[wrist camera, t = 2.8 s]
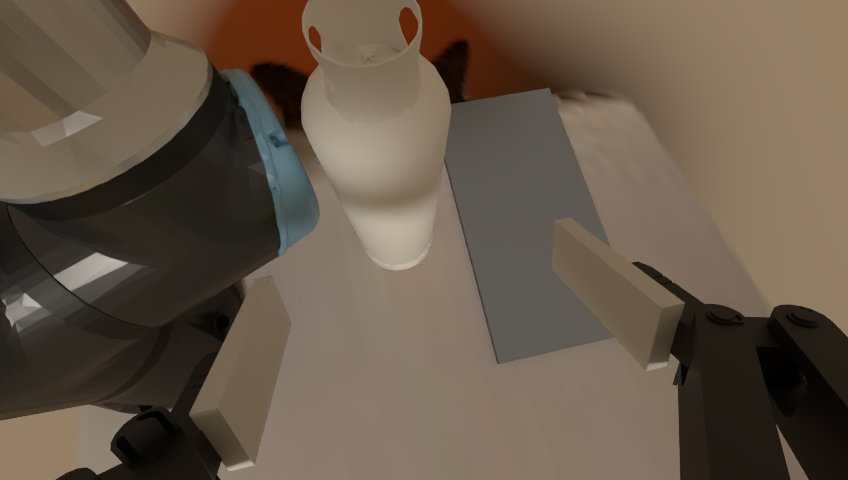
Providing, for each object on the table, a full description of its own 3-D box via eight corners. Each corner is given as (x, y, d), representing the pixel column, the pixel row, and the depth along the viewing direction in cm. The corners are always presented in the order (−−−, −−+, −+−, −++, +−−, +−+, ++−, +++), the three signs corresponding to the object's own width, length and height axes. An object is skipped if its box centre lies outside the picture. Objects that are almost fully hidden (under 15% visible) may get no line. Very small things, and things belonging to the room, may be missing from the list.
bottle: (441, 259, 40) (493, 78, 13) (372, 278, 39) (275, 127, 12) (421, 196, 42) (430, -68, 15) (355, 214, 41) (244, -35, 14)
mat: (638, 330, 38) (642, 330, 37) (497, 363, 36) (499, 363, 36) (546, 92, 47) (549, 87, 46) (431, 111, 46) (431, 107, 45)
